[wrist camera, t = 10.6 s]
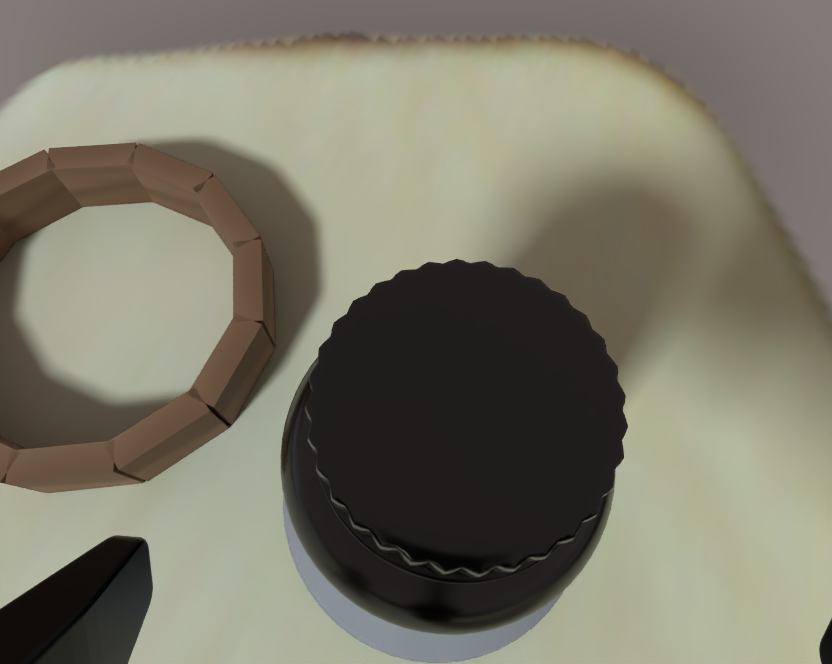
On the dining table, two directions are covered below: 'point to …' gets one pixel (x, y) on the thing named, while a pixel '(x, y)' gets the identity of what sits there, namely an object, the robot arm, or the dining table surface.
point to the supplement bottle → (454, 448)
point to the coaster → (396, 637)
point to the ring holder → (232, 357)
